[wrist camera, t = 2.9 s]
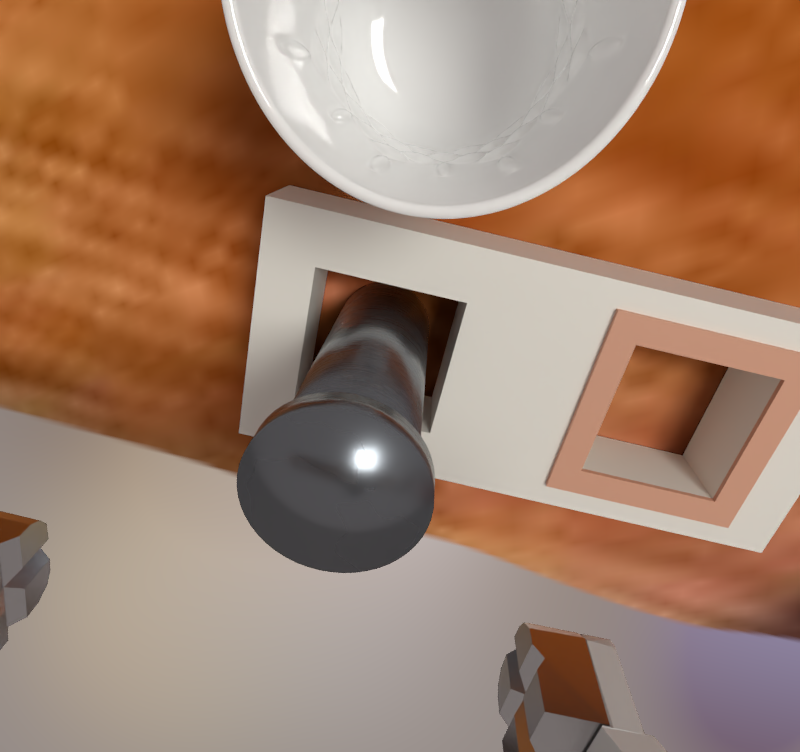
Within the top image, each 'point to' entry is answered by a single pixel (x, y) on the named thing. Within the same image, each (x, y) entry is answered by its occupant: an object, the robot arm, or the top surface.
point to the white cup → (449, 91)
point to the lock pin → (349, 444)
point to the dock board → (547, 366)
